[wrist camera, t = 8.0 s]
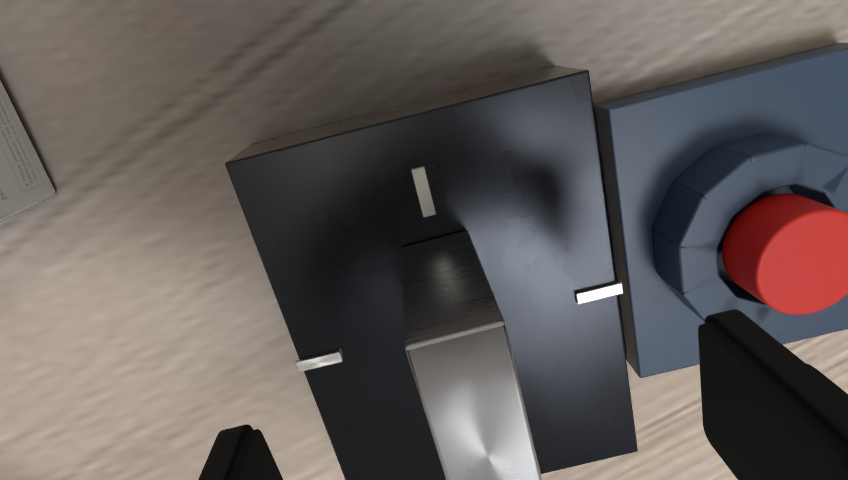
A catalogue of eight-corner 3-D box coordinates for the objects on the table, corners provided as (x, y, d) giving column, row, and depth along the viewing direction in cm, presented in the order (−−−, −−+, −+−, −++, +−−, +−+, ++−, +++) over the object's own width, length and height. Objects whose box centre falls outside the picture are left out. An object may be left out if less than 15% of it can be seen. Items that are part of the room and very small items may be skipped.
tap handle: (399, 246, 15) (404, 354, 10) (467, 229, 15) (508, 328, 10) (449, 412, 17) (474, 576, 12) (508, 397, 17) (560, 555, 12)
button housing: (593, 104, 17) (632, 116, 15) (838, 42, 17) (926, 41, 14) (626, 361, 21) (663, 410, 18) (831, 312, 21) (900, 354, 18)
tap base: (248, 144, 17) (218, 165, 14) (559, 64, 17) (595, 68, 14) (361, 456, 22) (356, 521, 19) (608, 397, 21) (643, 454, 18)
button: (718, 207, 16) (755, 225, 14) (824, 181, 16) (874, 196, 14) (723, 300, 17) (757, 327, 15) (822, 276, 17) (868, 301, 15)
